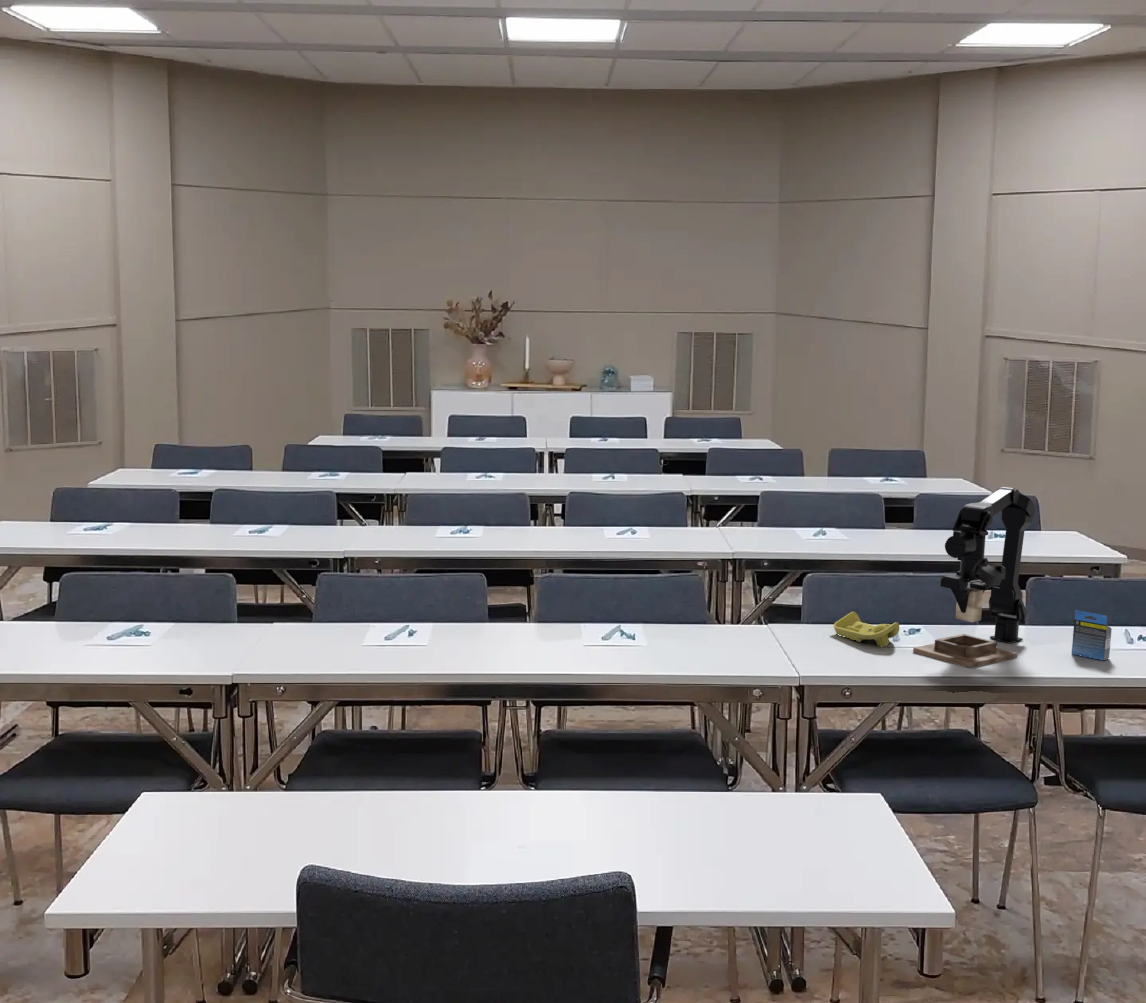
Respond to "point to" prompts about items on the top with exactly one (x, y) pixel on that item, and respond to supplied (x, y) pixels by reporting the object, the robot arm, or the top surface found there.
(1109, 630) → the blue retail box
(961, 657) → the holder board
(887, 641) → the plastic component
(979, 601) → the birch peg
